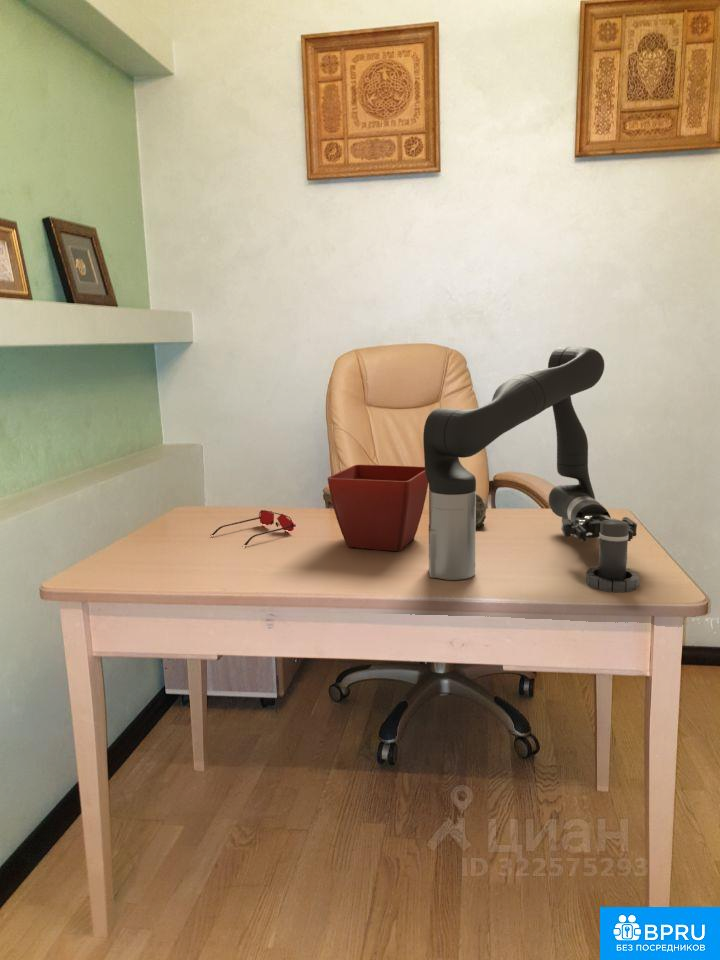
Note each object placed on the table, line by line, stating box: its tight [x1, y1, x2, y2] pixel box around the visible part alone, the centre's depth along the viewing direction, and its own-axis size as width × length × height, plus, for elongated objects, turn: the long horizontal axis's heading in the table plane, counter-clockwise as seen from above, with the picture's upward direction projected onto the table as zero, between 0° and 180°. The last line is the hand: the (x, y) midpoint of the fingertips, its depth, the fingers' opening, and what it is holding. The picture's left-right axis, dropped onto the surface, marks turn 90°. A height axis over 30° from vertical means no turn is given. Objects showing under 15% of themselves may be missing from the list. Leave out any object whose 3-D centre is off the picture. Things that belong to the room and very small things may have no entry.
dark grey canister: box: [598, 519, 629, 580], centre depth 143 cm, size 5×5×12 cm
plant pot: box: [327, 464, 429, 552], centre depth 174 cm, size 19×19×17 cm
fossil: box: [476, 493, 487, 529], centre depth 190 cm, size 11×9×10 cm
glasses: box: [211, 509, 297, 546], centre depth 184 cm, size 14×16×5 cm
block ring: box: [585, 565, 640, 593], centre depth 144 cm, size 9×9×2 cm
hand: (606, 536), depth 148 cm, fingers open, 8 cm apart
